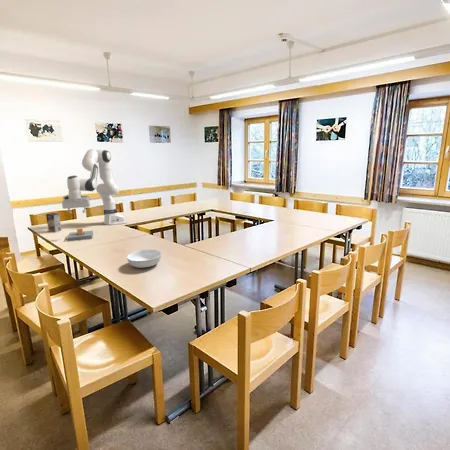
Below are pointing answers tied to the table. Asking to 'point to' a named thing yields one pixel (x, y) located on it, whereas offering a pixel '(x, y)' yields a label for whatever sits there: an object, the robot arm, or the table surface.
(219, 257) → the table surface
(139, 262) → the serving bowl
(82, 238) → the socket plate
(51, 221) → the coffee box
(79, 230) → the plug
